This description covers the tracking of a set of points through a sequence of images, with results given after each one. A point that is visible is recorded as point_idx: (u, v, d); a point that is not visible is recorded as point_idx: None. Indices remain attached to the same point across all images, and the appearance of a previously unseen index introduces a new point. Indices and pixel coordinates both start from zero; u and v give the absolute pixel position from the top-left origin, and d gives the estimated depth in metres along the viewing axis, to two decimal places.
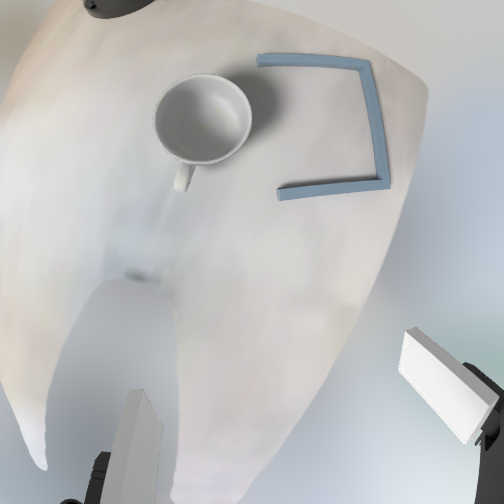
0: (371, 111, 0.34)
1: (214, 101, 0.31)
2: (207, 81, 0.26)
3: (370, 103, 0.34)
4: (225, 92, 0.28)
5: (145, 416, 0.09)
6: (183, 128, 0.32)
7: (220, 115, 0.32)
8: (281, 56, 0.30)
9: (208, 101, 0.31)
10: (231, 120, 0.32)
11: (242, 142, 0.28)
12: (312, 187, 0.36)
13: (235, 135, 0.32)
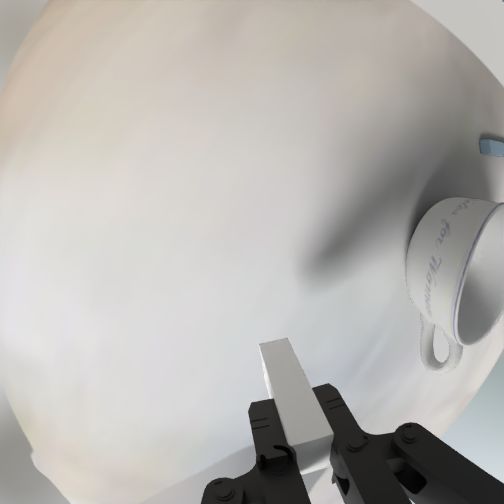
0: None
1: None
2: None
3: None
4: None
5: None
6: None
7: None
8: (502, 146, 0.17)
9: None
10: None
11: None
12: None
13: None
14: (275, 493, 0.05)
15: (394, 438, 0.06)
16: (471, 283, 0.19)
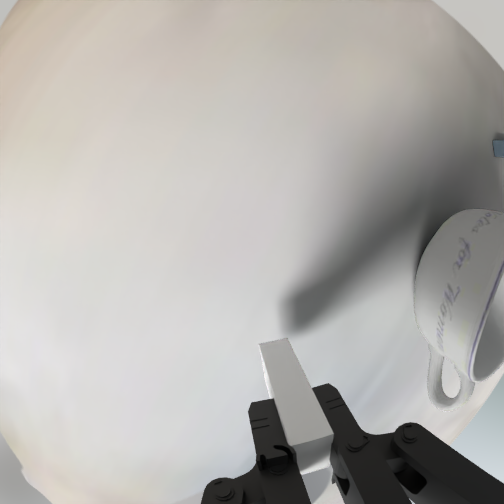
0: None
1: None
2: None
3: None
4: None
5: None
6: None
7: None
8: None
9: None
10: None
11: None
12: None
13: None
14: (275, 493, 0.05)
15: (394, 438, 0.06)
16: None
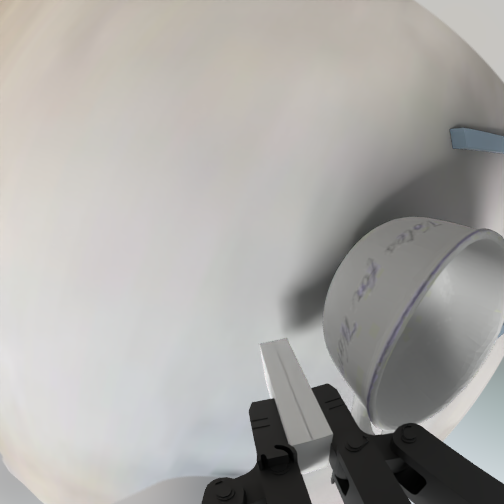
0: None
1: None
2: None
3: None
4: None
5: None
6: None
7: None
8: (485, 138, 0.13)
9: None
10: None
11: (481, 365, 0.11)
12: None
13: (434, 304, 0.15)
14: (276, 493, 0.05)
15: (393, 438, 0.06)
16: (437, 328, 0.15)
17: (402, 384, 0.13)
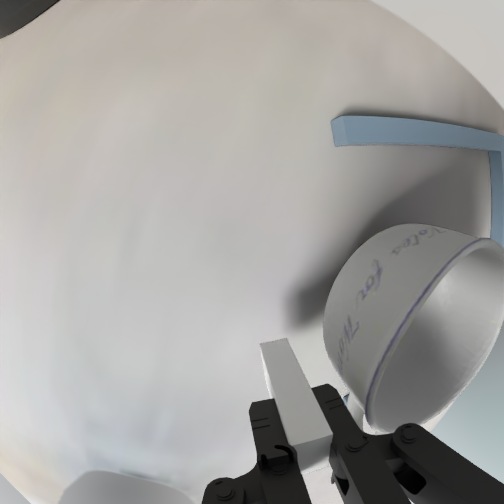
0: (499, 237, 0.16)
1: None
2: None
3: (500, 222, 0.16)
4: None
5: None
6: None
7: None
8: (393, 125, 0.12)
9: None
10: None
11: (475, 374, 0.11)
12: None
13: (432, 312, 0.16)
14: (276, 493, 0.05)
15: (393, 438, 0.06)
16: (433, 336, 0.15)
17: (396, 389, 0.13)
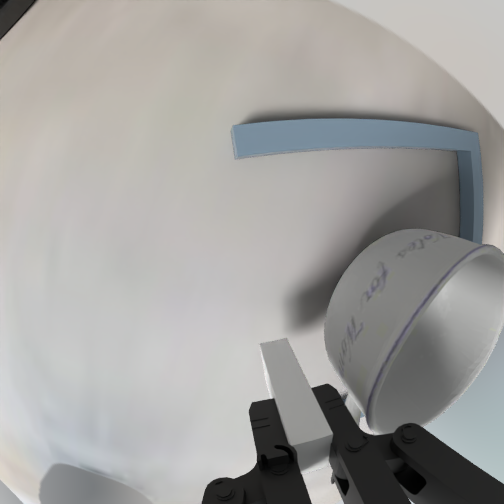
0: None
1: None
2: None
3: (469, 235, 0.15)
4: None
5: None
6: None
7: None
8: (303, 129, 0.12)
9: None
10: None
11: (472, 381, 0.11)
12: None
13: (431, 318, 0.16)
14: (276, 493, 0.05)
15: (393, 438, 0.06)
16: (431, 342, 0.15)
17: (394, 394, 0.13)
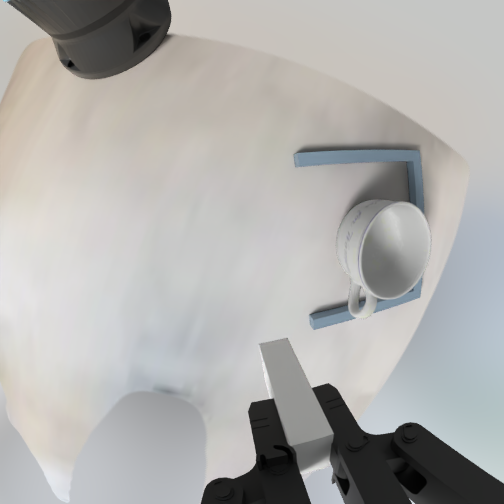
0: None
1: (383, 212, 0.31)
2: (401, 206, 0.26)
3: None
4: (404, 214, 0.28)
5: None
6: None
7: (383, 227, 0.32)
8: (325, 155, 0.28)
9: None
10: (392, 235, 0.32)
11: (418, 279, 0.27)
12: (346, 312, 0.33)
13: (393, 251, 0.32)
14: (275, 493, 0.05)
15: (394, 438, 0.06)
16: (395, 264, 0.31)
17: (375, 285, 0.30)
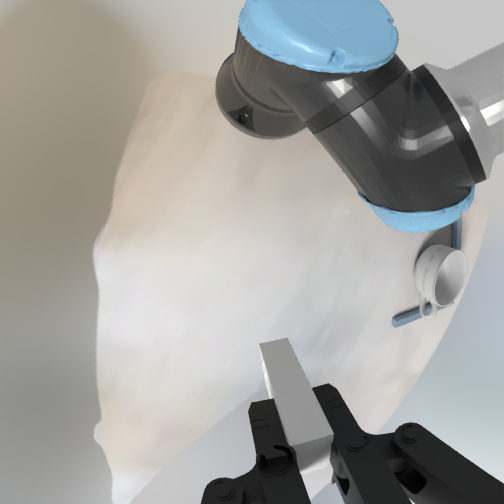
0: None
1: None
2: None
3: (455, 245, 0.44)
4: (452, 253, 0.40)
5: None
6: None
7: None
8: None
9: None
10: (442, 264, 0.44)
11: (459, 293, 0.39)
12: (413, 315, 0.46)
13: (442, 275, 0.44)
14: (275, 493, 0.05)
15: (394, 438, 0.06)
16: (443, 283, 0.44)
17: None
